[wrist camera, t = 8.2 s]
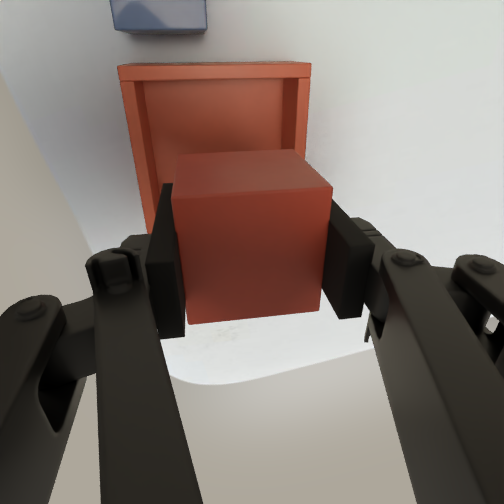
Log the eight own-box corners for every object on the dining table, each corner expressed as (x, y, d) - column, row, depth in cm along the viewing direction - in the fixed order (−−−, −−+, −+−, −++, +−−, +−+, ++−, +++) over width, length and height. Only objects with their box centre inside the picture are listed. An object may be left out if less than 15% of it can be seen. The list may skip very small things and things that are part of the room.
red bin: (128, 63, 24) (116, 65, 20) (293, 61, 25) (311, 63, 21) (154, 217, 29) (148, 242, 26) (286, 208, 31) (299, 231, 27)
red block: (176, 153, 14) (170, 196, 10) (293, 148, 15) (334, 186, 11) (189, 256, 17) (187, 326, 13) (288, 248, 17) (320, 311, 13)
